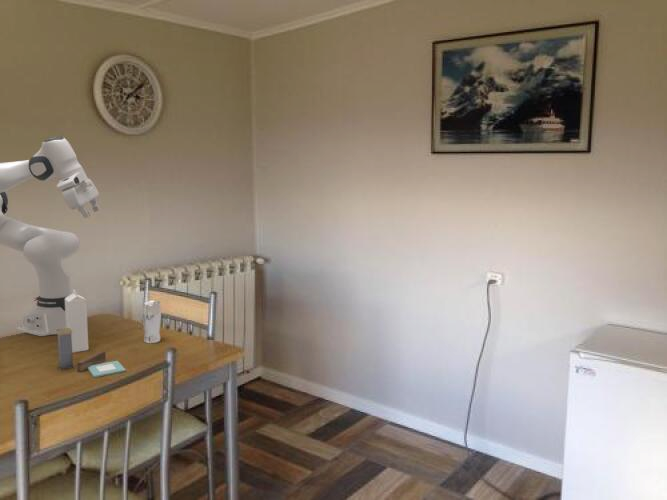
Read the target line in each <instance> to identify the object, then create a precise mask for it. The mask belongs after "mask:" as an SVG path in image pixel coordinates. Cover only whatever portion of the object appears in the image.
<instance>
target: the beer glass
mask: <svg viewBox="0 0 667 500" xmlns="http://www.w3.org/2000/svg"><path fill="white" fill-rule="evenodd" d="M141 304H142V305H141V318H142V323H143V328H144V337H143V338H144V339H143V342H144V343H146V344H155V343H158V342H160V341H161V340H162V338H161V335H160V334H161V333H160V328H161V322H162V321H161V320H162V319H161V318H162V306H161V301H158V300H147V301H143V302H142V303H141Z"/></svg>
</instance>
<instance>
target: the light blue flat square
mask: <svg viewBox="0 0 667 500" xmlns="http://www.w3.org/2000/svg"><path fill="white" fill-rule="evenodd" d="M87 370H88V372H89V373H90V375H92V377H93V378H99V377H103V376H104V377H105V376H111V375H115V374H119V373H124V372H127V371H126V370H127V369H126V368H125V367H124V366H123V365H122V364H121V363H120V362H119V360H113V361H107V362H101V363H98V364H96V365H91V366H90V367H88V369H87Z"/></svg>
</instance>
